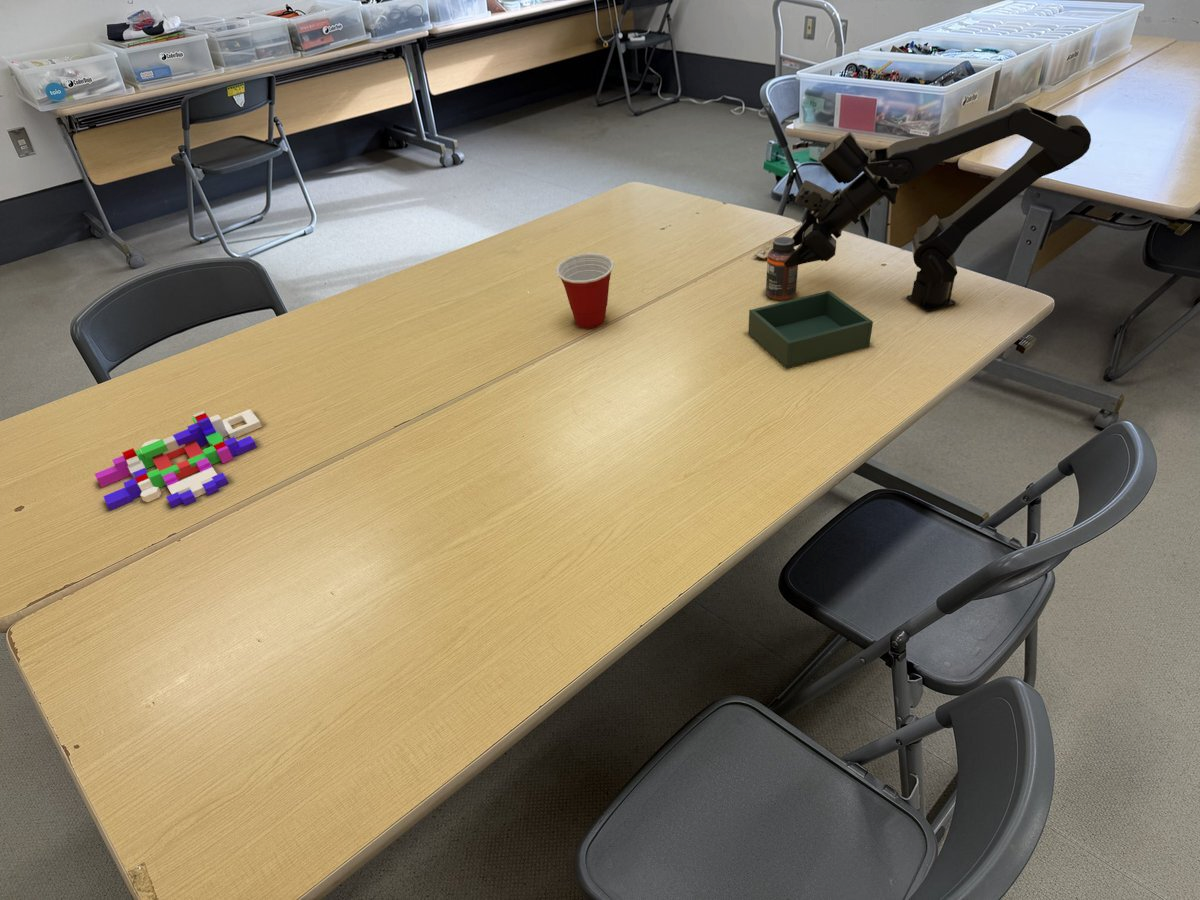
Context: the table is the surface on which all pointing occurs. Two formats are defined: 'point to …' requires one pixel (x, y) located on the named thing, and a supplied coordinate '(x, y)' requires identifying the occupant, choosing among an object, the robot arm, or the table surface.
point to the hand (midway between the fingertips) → (787, 255)
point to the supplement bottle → (781, 270)
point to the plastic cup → (587, 287)
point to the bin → (809, 329)
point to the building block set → (170, 474)
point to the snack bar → (765, 250)
